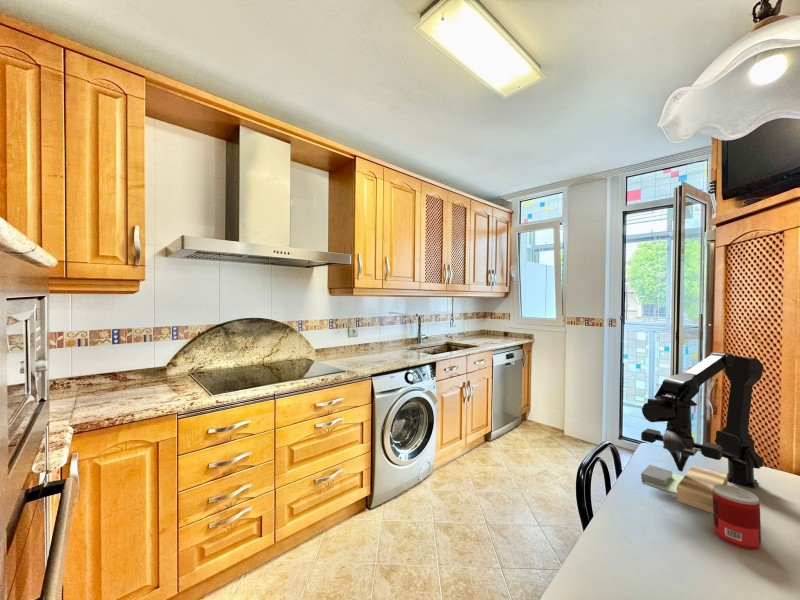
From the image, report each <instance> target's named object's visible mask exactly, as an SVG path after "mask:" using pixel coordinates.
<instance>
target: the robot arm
mask: <svg viewBox="0 0 800 600" xmlns="http://www.w3.org/2000/svg"><path fill="white" fill-rule="evenodd" d="M764 369H765V367H764V364H763V363H762V362H761V360H760V359H758V358H755V357H748V356H741V355H734V354H732V353H729V352H728V353H727V352H721V351H720V352H718V351H712V352H710V354H709V356H707V357H706V358H704V359H702V360H701V361H700V362H698V363H697V364H696V365H694V366H692V367H691V368H690V369H688V370H687V371H685V372H683V373H678V374H672V375H671V376H669V377H666V378H664V379H663V380H662V383H661V385H660V387H659V389H658V390H657V391H656V393H655V395H654V398H647V402H645V403H644V404H643V406H642V408H641V413H642V415H643V417H644V419H645V420H647V421H648V422H650V423H660V422H661V423H662V422H663V423H664V422H667V423H666V428H665V431H664V433H663V434H662V433H661V431H659V430H658V429H652V428H646V429H645V430H643V431H642V432H641V435H640V438H641V441H643V442H646V443H651V444H653V443H655V442H656V441H659V442H662V443H663V446H662V448H663V449H665V450H667V452H668V453H670V455H671V457H672V458H673V461H674V463H675V465H676V468H677V470H678V471H679V472H683V471H684V468H685V467H686V464H687V463H688V460H689V458H690V456H691V457H694V456H695V455H696V454H697V452H698V451H699V452H700V453H701V455H702V456H703V457H705V458H709V459H711V460H712V459H713V460H716V461H720V460H721V459H722V458H725V459H727V468H728V469H727V471H728V472H727V474H726V475H727V482H732V483H734V484H738V485H742V486H746V487H749V488H752V489H756V486H757V484H758V480H757V479H756V478H755V470H754V469H757V470H758V469H759V470H760V469H761V468H763V465H764V462H765V461H764V459H763V458H762V457H761V455H759V454H758V453H757V452H756V451H755V442H754V440H753V438H752V436H751V434H750V433H749V427H750V426H749V424H750V416H751V407H752V406H751V405H752V398H753V397H752V395H753V388H754V386H755V385H756V384H757V383H758V382H759V381H761V380H762V375H763V372H764ZM723 370H724V373H725V375H726V377H727V379H728V381H729V382H730V385H729V392H728V393H729V394H728V402H727V411H726V413H727V414H726V421H725V426H724V428H722V429H721V430H716V432H715V439H714V443H711V442H707V441H704V442H703V443H702V444H701V443H697V442H695V440H694V437H693V435H692V434H693V432H692V426H693V425H692V408H691V407H696V406H698V404H697V402H695V401H694V400H693V398H694V397H695V396H696V395H698V394H699V392H700V388H701V386H702V385H703V384H704V383H705V382H707V381H708V380H710V379H711V378H713V377H714V376H716V375H717V374H719V373H720V372H722V371H723Z"/></svg>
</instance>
